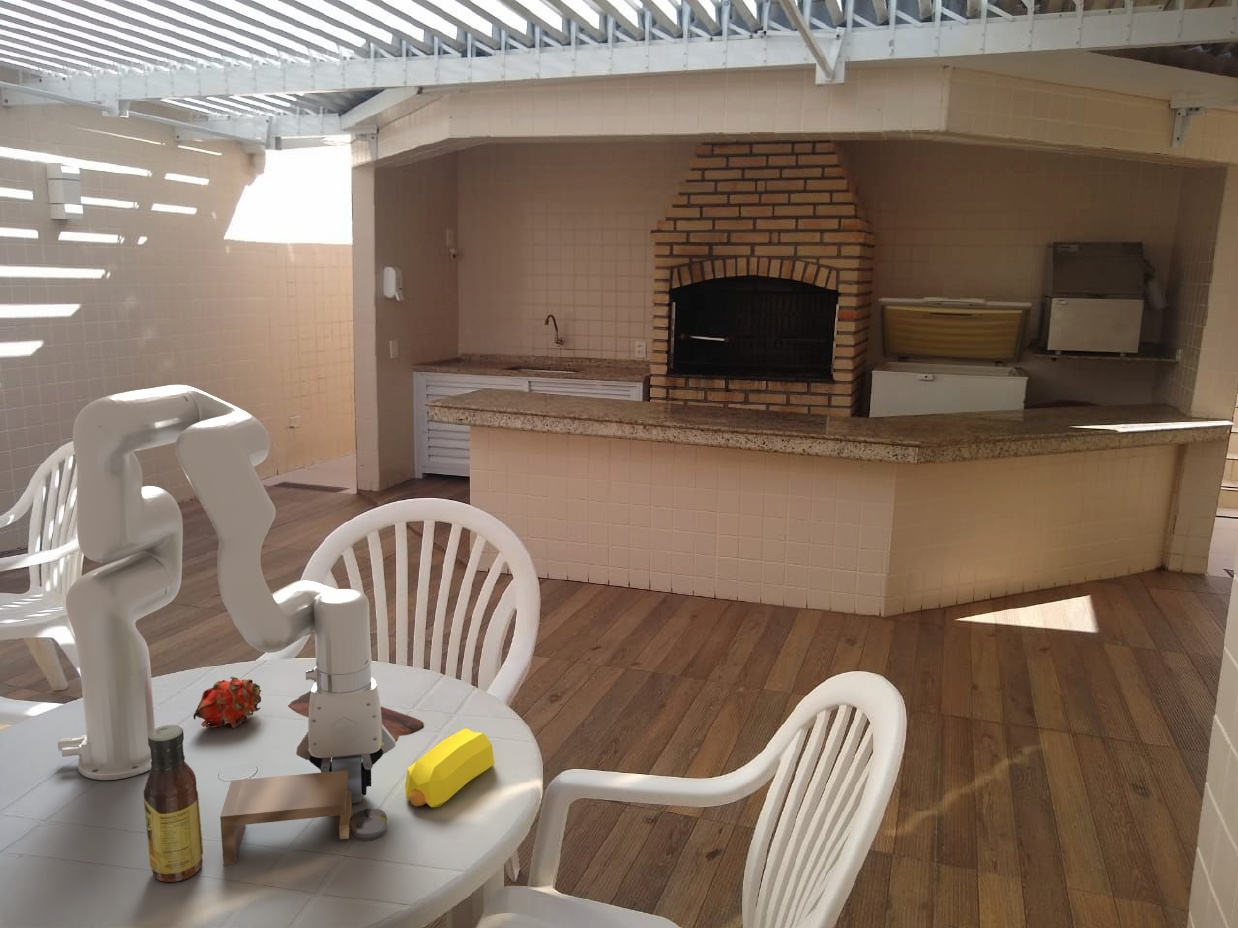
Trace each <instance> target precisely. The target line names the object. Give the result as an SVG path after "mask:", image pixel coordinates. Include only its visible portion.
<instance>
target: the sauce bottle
mask: <svg viewBox="0 0 1238 928" xmlns="http://www.w3.org/2000/svg"><path fill="white" fill-rule="evenodd" d="M184 739H185V737H184V728H183V727H182V726H179V725H177V724H166V725H162V726H158V727H157V728H156V727H155V729H154V730H152V731H151V732H150V733H149V734H148V745H149V747H150V749H151V760H152V761H151V769H150V770H149V773H148V776H147V780H146V782H145V786H144V789H143V791H142V792H143V793H142V794H143V804H144V805H143V806H144V813H145V824H146V834H147V835H146V836H147V846H148V854H149V865H150V868H151V869H152V875H153V878H155V879H156V880H157V881H159V882H164V883H175V882H180V881H184V880H186V879H189V878H191V877H192V876H194V875H195V874H196V873H197V872H198V871H199V870H201V868H202V866H203V853H204V850H203V849H204V848H203V846H204V845H203V836H202V823H201V814H200V813H201V811H200V810H201V809H200V801H199V800H200V799H199V792H198V789H197V778H196V774H195V772H194V770H193V769H192V767H190V766H189V764H188V763H187V762H186V761H185V758H186V757H185V754H184Z"/></svg>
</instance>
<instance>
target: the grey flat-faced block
mask: <svg viewBox="0 0 1238 928" xmlns="http://www.w3.org/2000/svg"><path fill="white" fill-rule="evenodd" d="M331 762H332V772H333V771H344V770H347V771H348V783H347V795H346V807H345V815H339V816H340V817H339V823H338V825H339V826H338V828H339V829H338V830H339V840H347V839H348V840H349V838H350V818H351V816H352V806H353V805H352V804H353V803H362V800H363V794H362V788H361V765H362V757H361V755H352V756H340V757H331Z"/></svg>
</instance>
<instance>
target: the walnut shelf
mask: <svg viewBox="0 0 1238 928" xmlns="http://www.w3.org/2000/svg"><path fill="white" fill-rule="evenodd" d="M347 783H348V771H347V770H344V771H333V772H322V773H321V772H311V773H301V774H290V775H288V774H287V775H281V776H280V775H279V776H270V777H268V776H267V777H258V778H246V779H245V778H244V779H235V780H231V781H230V784H229V785H228V790H227V794H226V797H225V801H224V803H223V806H222V810H221V813H220V815H219V817H220V819H219V820H220V834H221V835H220V837H221V849H222V864H223V866H226V865H225V864H228V865H235V864H234V863H236V864H237V860H236V859H238V856H239V852H238V851H240V849H241V845H240V844H242V841H243V837H242V835H243V836H244V833H243V832H245V829H244V828H246V825H255V824H256V825H257V824H265V823H276V822H285V821H295V820H305V819H306V820H307V819H317V818H325V817H326V818H327V817H335V816H340V815H345V807H346V795H347ZM241 840H242V841H241ZM239 848H240V849H239Z"/></svg>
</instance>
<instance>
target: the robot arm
mask: <svg viewBox="0 0 1238 928" xmlns="http://www.w3.org/2000/svg"><path fill="white" fill-rule="evenodd" d="M174 443H175V445H174V446H175V447H174V448H175V449H174V451H175V456H176V457H177V458H176V459H177V460H178V464H179V465H180V467H181V469H182V470H183V472H184V475H185V476H186V479H187V481H188V482H189V484H190V486H191V487H192V489H193V491H194V494H195V495H196V498H198V501H199V502H200V505H201V507H202V508H203V510H204V512H205V514H206V515H207V517H208V519H209V521H210V523H211V525H212V527H213V528H214V530H215V531H214V532H215V533H216V535H217V537H218V538H217V539H218V549H217V559H216V561H217V563H216V564H217V565H216V567H217V581H218V588H219V594H220V597H221V599H222V602H223V604H224V607H225V609H226V610H227V612H228V613H229V616H230V618H231V619H232V621H233V624H234V625H235V627H236V628H237V631H238V632H239V633H240V634H241V636H242V638H243V639H244V640H245V641H246V643H248V644H249V645H250V646H251V647H253V649H255V650H257V651H258V652H261V653H265V654H266V653H267V654H272V653H278V652H281V651H282V650H285V649H286V648H288V647H289V646H291V645H293V644H294V643H296V642H298V641H300V640H301V639H302V638H303V637H306V636H309V635H311V634H313V633H314V647H315V648H314V651H315V666H314V668H312V669H309V670H305V680H306V681H309V680H310V681H314V684H313V686H312V688H311V690H310V691H311V695H310V701H309V718H308V727H307V728H308V729H307V732H306V733H305V735H304V737H303V738H302V740H301V741H300V743H299V744H298V746H297V748H296V752H295V755H296V756H297V757H300V758H302V759H304V760H306V761H309V763H311V764H312V765H313V766H315V767H316V768H317V769H319V770H320V773H322V772H332V757H340V756H352V755H361V757H362V765H361V788H362V796H367V793H368V792H367V789H368V787H369V788H370V787H372V769H373V766H375V764H376V763H377V762H379V760H380V759H381V758H382V757H383V755H384V754H387V753H389V751H392V749H394V748H395V747H396V741H395V739H394V738H393V737H392V735H391V734H390V733H389V732H388V730H387V729H386V728H385V727H384V725H383V724H382V718H381V707H382V706H381V702H380V701H381V700H380V695H379V690H378V686H377V682H376V679H374V678H373V677H372V666H371V665H372V662H371V660H372V659H371V626H370V625H371V624H370V622H371V621H370V602H369V598H368V597H367V595H366V594H365V593H364V592H362V591H360V590H357V589H353V588H352V589H351V588H335V587H332V586H329V585H326V584H324V583H320V582H317V581H314V580H310V579H301V580H297V581H293V582H291V583H289V584H288V585H286V586H285V587H282V588H280V589H278V590H275V592H271V590H270V588H269V586H268V584H267V582H266V579H265V577H264V573H263V569H262V563H261V555H262V554H261V553H262V548H263V545H264V541H265V538H266V536H267V534H268V532H269V530H270V528H271V526H272V523H274V520H275V518H276V515H277V514H276V513H277V511H276V506H275V505H274V503H273V501H272V500H271V498H270V496H269V493H268V492H267V490H266V488H265V487H264V484H263V483H262V480H261V479H260V477H259V475H258V473H257V471H256V470H255V467H256V466H258V465H260V464H261V463H263V462H264V461H265V460H266V459H267V457H268V455H269V454H270V449H271V440H270V436H269V433H268V431H267V430H266V428H265V426H264V425H263V424H262V422H261V421H260V420H259V419H257V418H256V417H255V416H253V415H252V414H250V413H249V412H248V411H246V410H243V409H241V408H239V407H237V406H236V405H233V404H231V403H229V402H226V401H224V400H222V399H220V398H218V397H216V396H213V395H211V394H209V393H207V392H204V391H203V390H200V389H198V388H195V387H193V386H189V385H185V384H169V385H163V386H157V387H152V388H142V389H136V390H130V391H124V392H119V393H115V394H110V395H106V396H104V397H101V398H97V399H95V400H93V401H91V402H90V403H88V404H87V405H85V406H84V407H83V408H81V410H80V411H79V413H78V414H77V416H76V418H75V420H74V424H73V428H72V445H73V450H74V457H75V461H76V462H75V463H76V469H77V470H76V471H77V474H76V475H77V476H76V477H77V480H76V481H77V482H76V483H77V484H76V534H77V542H78V546H79V548H80V552H82V554H83V555H84V557H86V558H87V559H88V560H90V561H92V562H97V563H107V564H105V565H103V566H100V567H98V568H95V569H93V570H90V571H88V572H87V573H85V574H83V575H82V576H80V577H79V578H77V579H76V580H75V581H74V582H73V583H72V584H71V586H70V587H69V589H68V591H67V593H66V596H65V609H66V613H67V614H66V615H67V616H68V620H69V621H70V626H71V629H72V631H73V634H74V639H75V642H76V650H77V655H78V663H79V673H80V681H81V692H82V701H83V703H82V704H83V711H84V720H85V721H84V723H85V732H86V734H82V735H81V736H80V737H64V738H63V737H62V738H60V739H58V743H57V750H58V751H59V752H61V756H62V757H73V756H78V757H79V758H78V760H77V769H78V773H80V774H81V775H82V776H84V777H85V778H89V779H92V780H97V781H113V780H121V779H127V778H132V777H135V776H138V775H141V774H144V773H146V772H148V771H150V769H151V761H152V760H151V749H150V747H149V745H148V734H149V733H150V732H151V731H152V730H154V729H156V720H155V707H154V697H153V696H154V695H153V684H152V683H153V682H152V681H153V680H152V671H151V670H152V669H151V658H150V651H149V646H148V643H147V641H146V640H145V638H144V636H143V635H142V634H141V633H140V631H139V630H138V629H137V625H136V622H137V621H138V620H140V619H142V618H144V617H146V616H148V615H149V614H152V613H154V612H155V611H158V610H160V609H161V608H164V607H166V606H167V605H168V604H170V603H171V602H172V601H174V599H175V598H176V597H177V595H178V593H179V591H180V588H181V584H182V573H183V572H182V569H183V542H184V541H183V538H184V537H183V536H184V534H183V533H184V524H183V523H184V522H183V515H182V512H181V509H180V506H179V504H178V503H177V500H176V499H175V497H174V496H173V495H171V494H170V493H169V492H168V491H167V490H166V489H163V488H161V487H158V486H152V485H145V486H143V470H142V467H141V464H140V461H139V459H138V457H137V455H136V454H135V452H137V451H144V450H147V449H153V448H156V447H162V446H166V445H170V444H174ZM380 706H381V707H380ZM382 741H383V742H382Z"/></svg>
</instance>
